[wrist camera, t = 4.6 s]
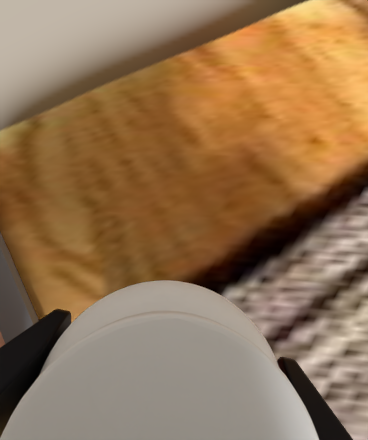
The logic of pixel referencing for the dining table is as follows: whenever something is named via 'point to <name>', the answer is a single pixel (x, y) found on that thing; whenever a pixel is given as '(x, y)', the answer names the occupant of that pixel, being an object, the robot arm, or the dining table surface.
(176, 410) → the pill bottle
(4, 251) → the bottle stand
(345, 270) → the dining table surface
